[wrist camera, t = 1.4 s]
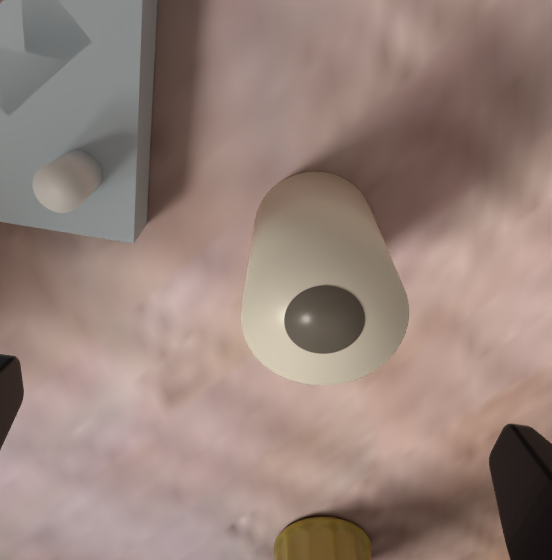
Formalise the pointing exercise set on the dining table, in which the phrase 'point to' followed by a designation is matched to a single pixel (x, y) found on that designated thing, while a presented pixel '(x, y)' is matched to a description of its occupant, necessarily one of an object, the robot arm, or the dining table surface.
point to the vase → (322, 541)
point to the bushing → (321, 284)
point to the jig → (76, 115)
